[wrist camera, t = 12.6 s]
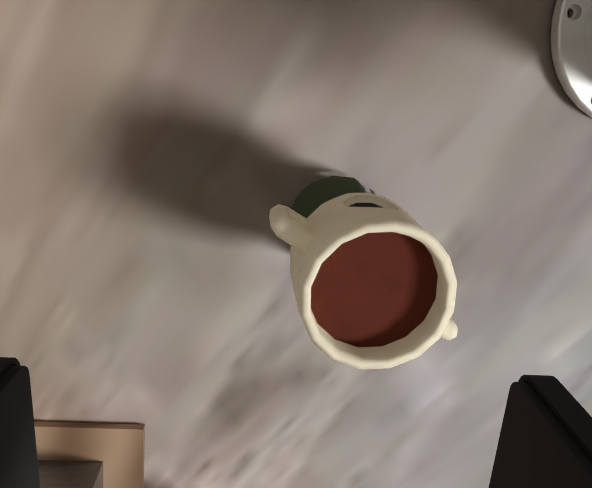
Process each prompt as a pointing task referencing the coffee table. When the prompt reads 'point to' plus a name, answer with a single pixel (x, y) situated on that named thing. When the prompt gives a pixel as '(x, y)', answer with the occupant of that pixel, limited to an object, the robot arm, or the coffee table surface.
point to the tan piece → (96, 448)
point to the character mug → (365, 275)
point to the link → (70, 474)
